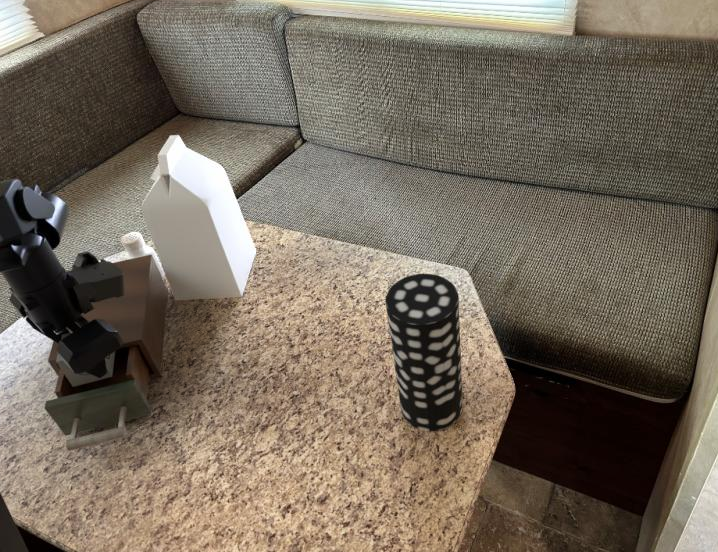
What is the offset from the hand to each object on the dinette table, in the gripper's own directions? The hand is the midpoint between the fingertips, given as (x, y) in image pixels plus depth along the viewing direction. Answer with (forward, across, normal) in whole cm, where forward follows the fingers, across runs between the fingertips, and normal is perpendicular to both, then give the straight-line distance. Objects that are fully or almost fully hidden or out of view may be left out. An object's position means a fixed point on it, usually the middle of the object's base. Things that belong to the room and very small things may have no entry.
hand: (91, 363), depth 81 cm
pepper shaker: (+8, +20, -18) cm, 28 cm away
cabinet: (+8, +10, -7) cm, 15 cm away
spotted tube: (+9, -36, -28) cm, 46 cm away
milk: (+8, +11, -26) cm, 29 cm away
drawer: (+8, +2, -1) cm, 8 cm away
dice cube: (+1, 0, 0) cm, 1 cm away
